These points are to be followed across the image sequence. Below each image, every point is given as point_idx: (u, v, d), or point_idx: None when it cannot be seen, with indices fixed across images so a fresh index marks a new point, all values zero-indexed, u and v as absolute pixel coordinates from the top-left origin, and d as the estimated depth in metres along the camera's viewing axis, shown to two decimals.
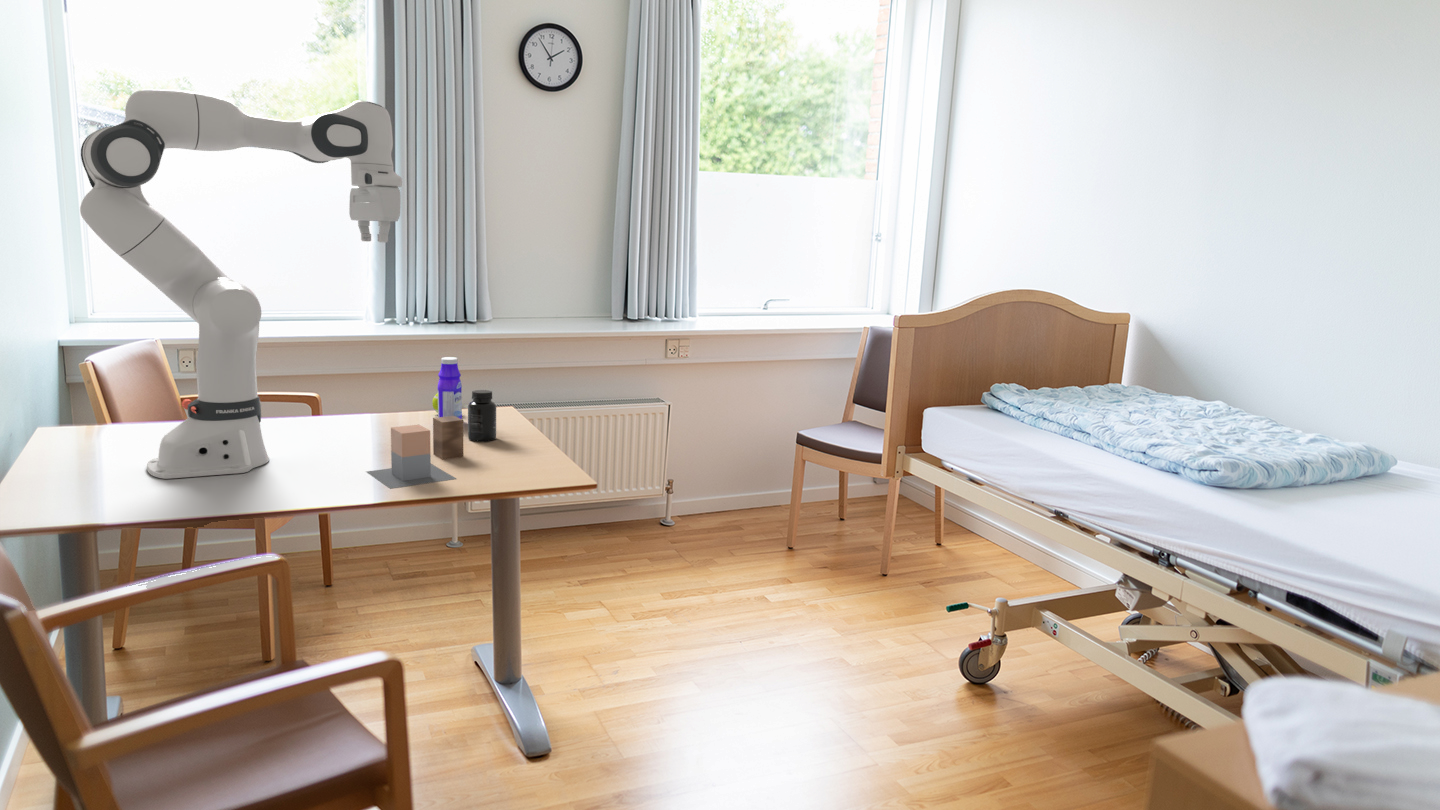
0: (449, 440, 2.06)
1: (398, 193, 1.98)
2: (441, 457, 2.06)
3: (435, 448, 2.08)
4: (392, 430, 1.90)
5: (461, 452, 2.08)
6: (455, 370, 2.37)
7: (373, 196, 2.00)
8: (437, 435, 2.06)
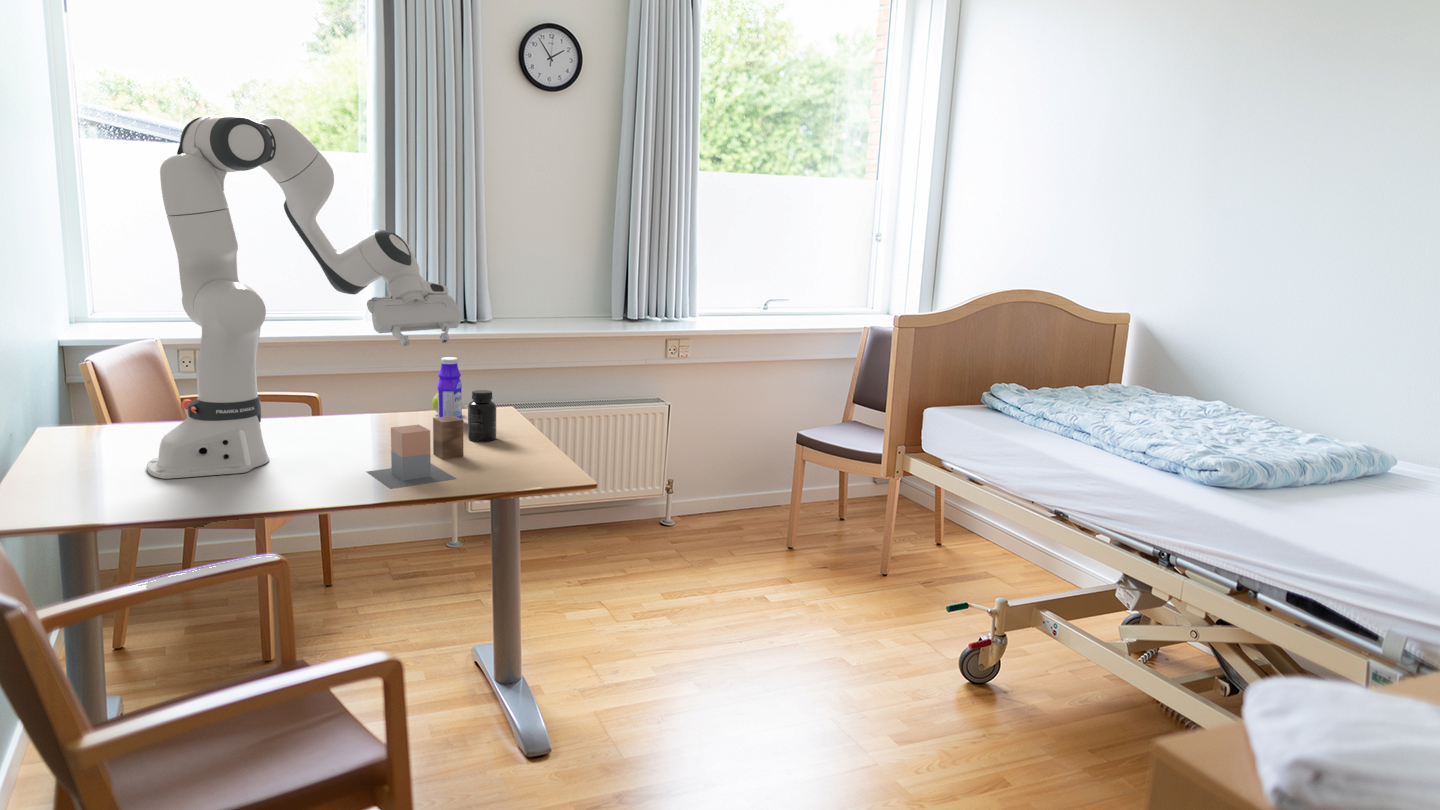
0: (449, 440, 2.06)
1: None
2: (441, 457, 2.06)
3: (435, 448, 2.08)
4: (392, 430, 1.90)
5: (461, 452, 2.08)
6: (455, 370, 2.37)
7: (432, 304, 2.18)
8: (437, 435, 2.06)
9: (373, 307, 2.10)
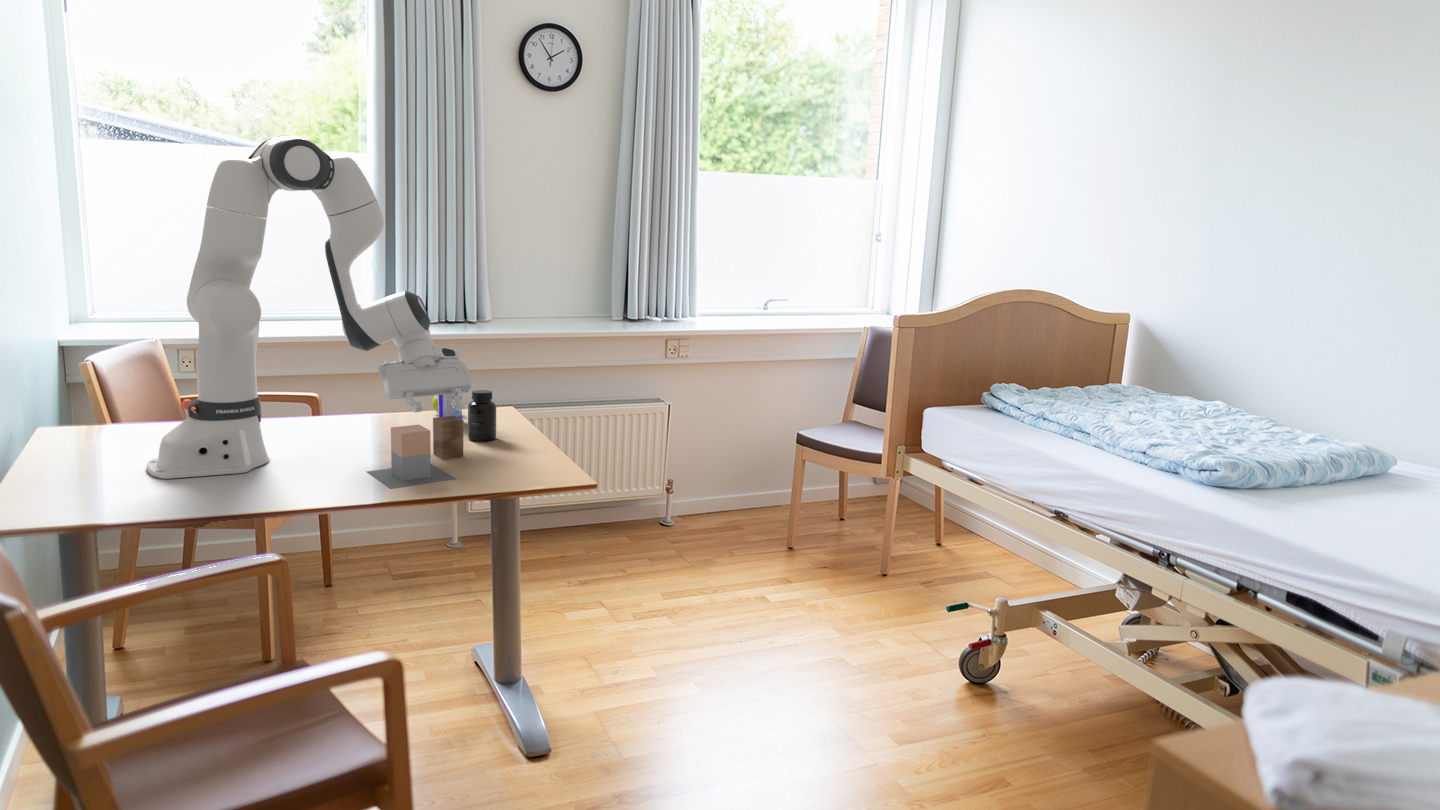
0: (449, 440, 2.06)
1: None
2: (441, 457, 2.06)
3: (435, 448, 2.08)
4: (392, 430, 1.90)
5: (461, 452, 2.08)
6: None
7: (443, 369, 2.17)
8: (437, 435, 2.06)
9: (385, 373, 2.09)
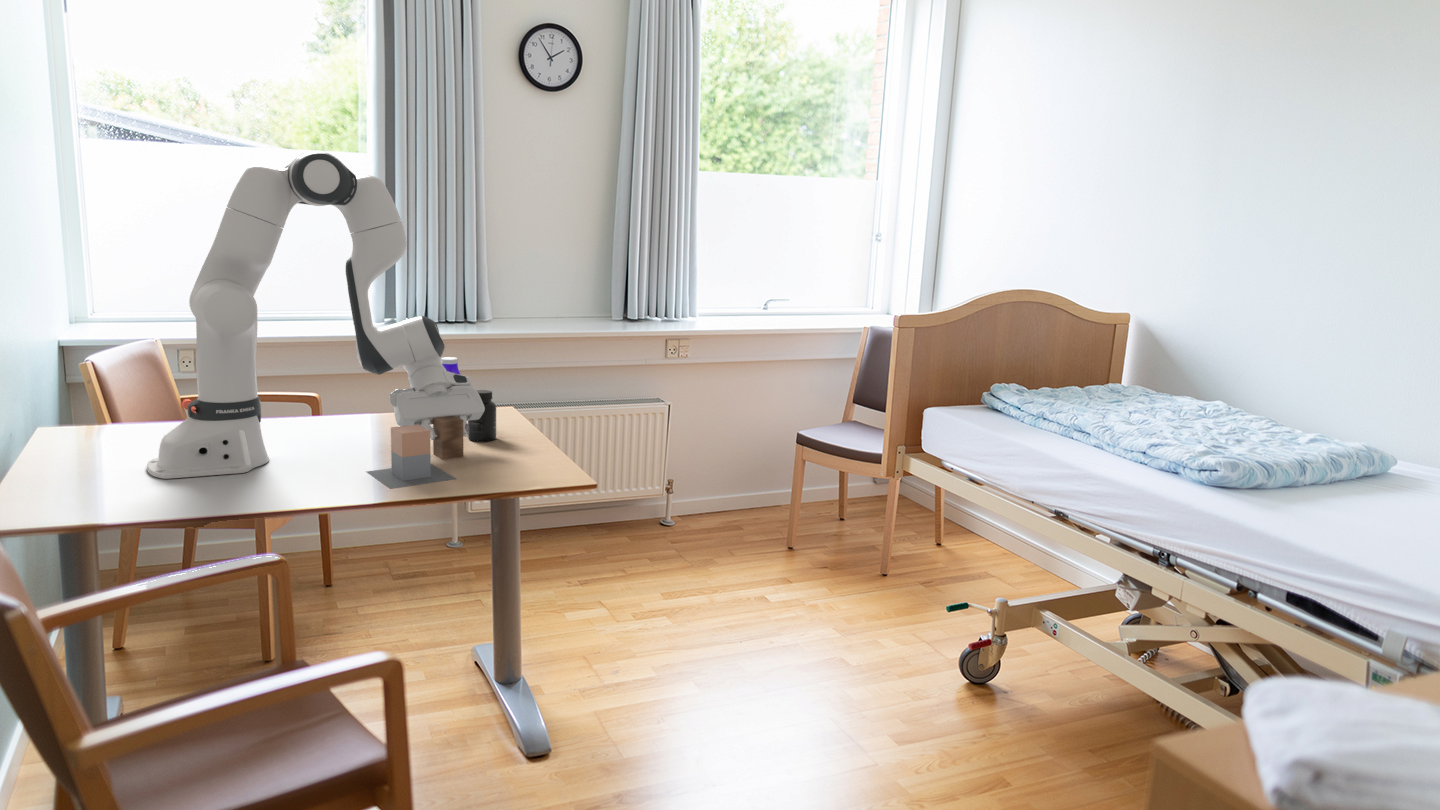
0: (449, 440, 2.06)
1: None
2: (441, 457, 2.06)
3: (435, 447, 2.08)
4: (392, 430, 1.90)
5: (461, 452, 2.08)
6: (455, 370, 2.37)
7: (455, 396, 2.13)
8: None
9: (396, 400, 2.05)
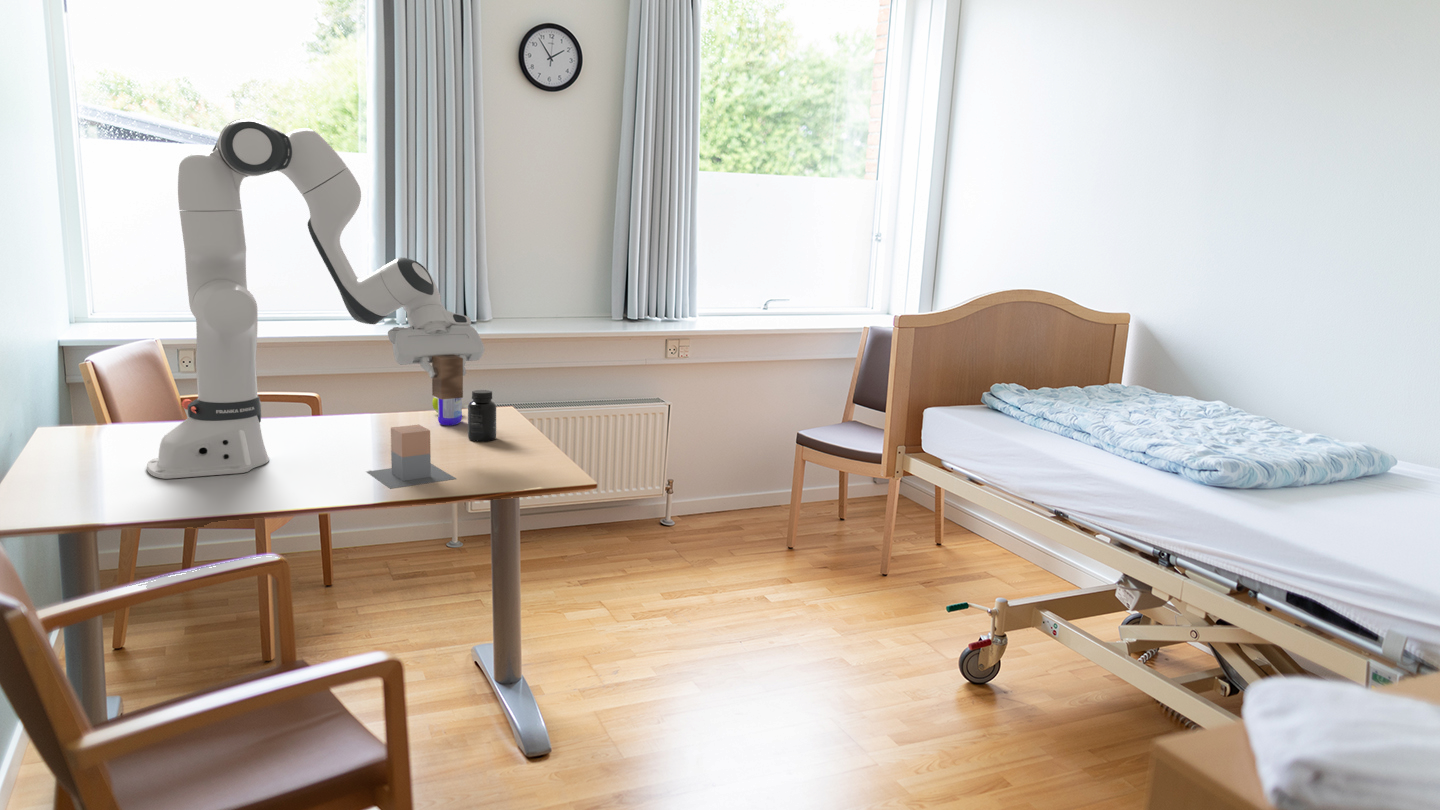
0: (448, 378, 2.03)
1: None
2: (440, 395, 2.03)
3: (434, 386, 2.05)
4: (392, 430, 1.90)
5: (460, 391, 2.05)
6: None
7: (454, 335, 2.10)
8: None
9: (395, 337, 2.02)
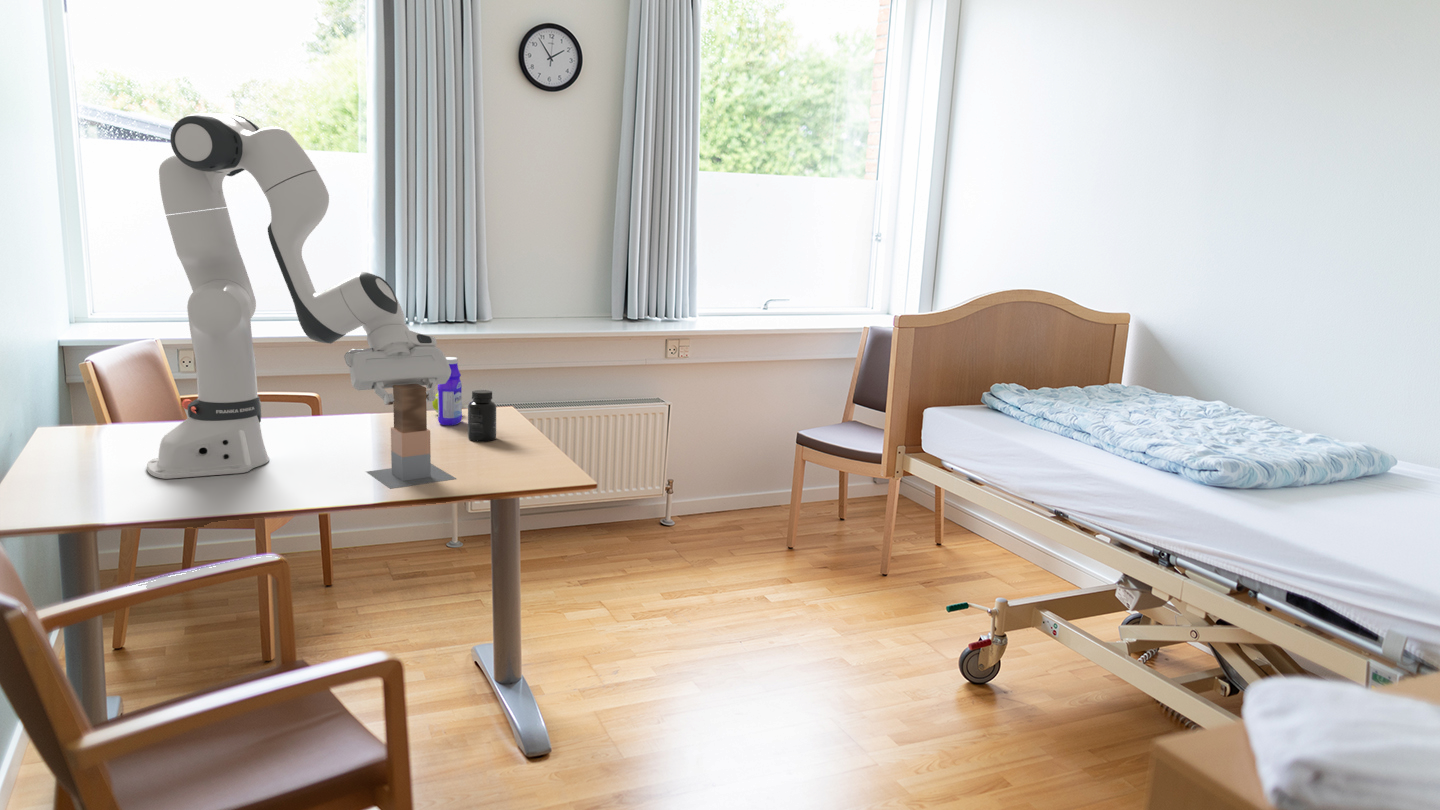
0: (410, 409, 1.87)
1: None
2: (402, 428, 1.87)
3: (396, 418, 1.89)
4: (392, 430, 1.90)
5: (424, 423, 1.89)
6: (455, 370, 2.37)
7: (418, 357, 1.94)
8: (397, 404, 1.88)
9: (352, 361, 1.86)
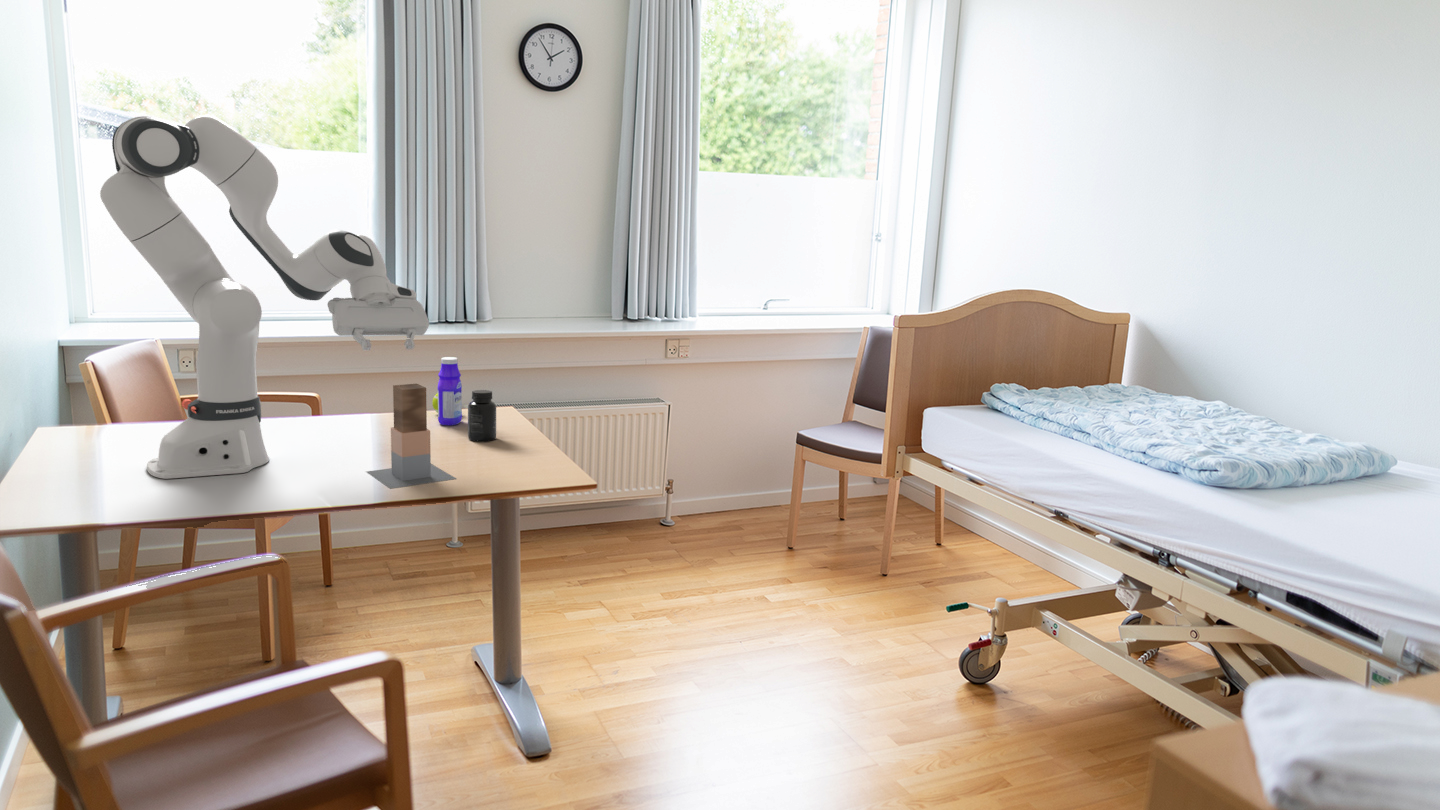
0: (410, 409, 1.87)
1: None
2: (402, 428, 1.87)
3: (396, 418, 1.89)
4: (392, 430, 1.90)
5: (424, 423, 1.89)
6: (455, 370, 2.37)
7: (398, 308, 2.05)
8: (397, 404, 1.88)
9: (334, 308, 1.97)
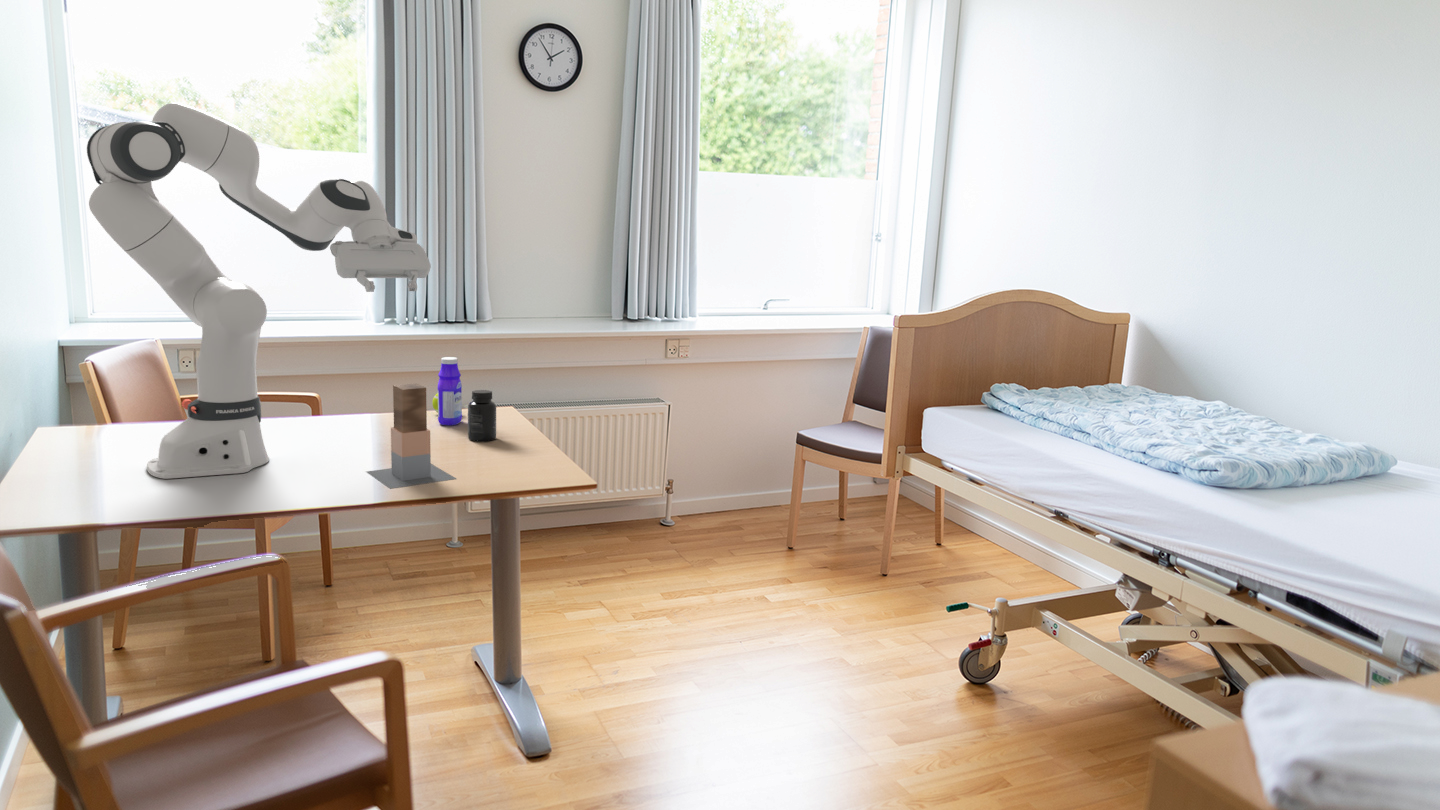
0: (410, 409, 1.87)
1: None
2: (402, 428, 1.87)
3: (396, 418, 1.89)
4: (392, 430, 1.90)
5: (424, 423, 1.89)
6: (455, 370, 2.37)
7: (399, 251, 2.07)
8: (397, 404, 1.88)
9: (337, 250, 1.99)
